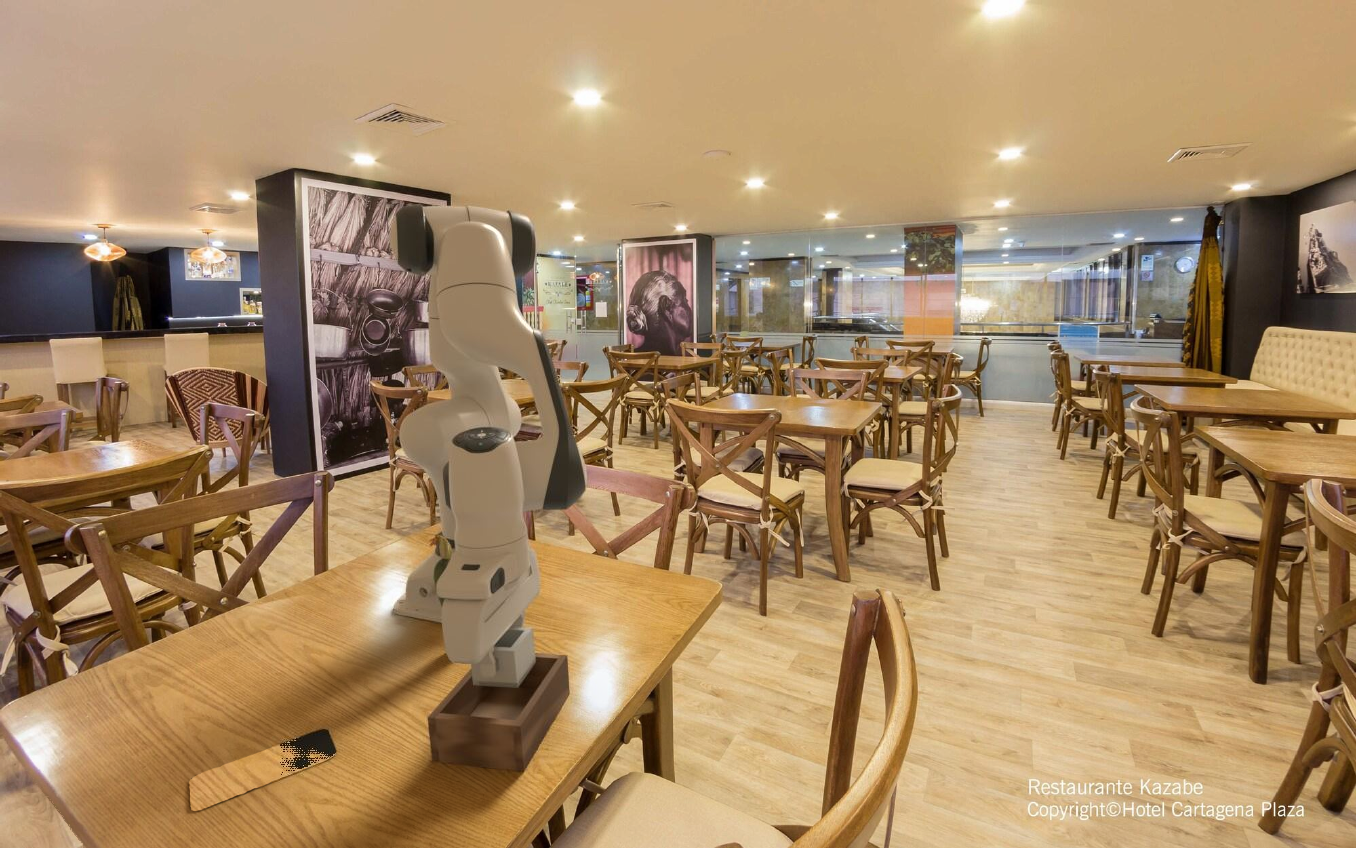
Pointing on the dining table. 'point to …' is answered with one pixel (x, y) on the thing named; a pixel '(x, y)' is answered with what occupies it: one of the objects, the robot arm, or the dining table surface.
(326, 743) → the smartphone
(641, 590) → the dining table surface
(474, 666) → the box
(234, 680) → the dining table surface
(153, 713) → the dining table surface
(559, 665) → the big crate
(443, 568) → the vegetable
